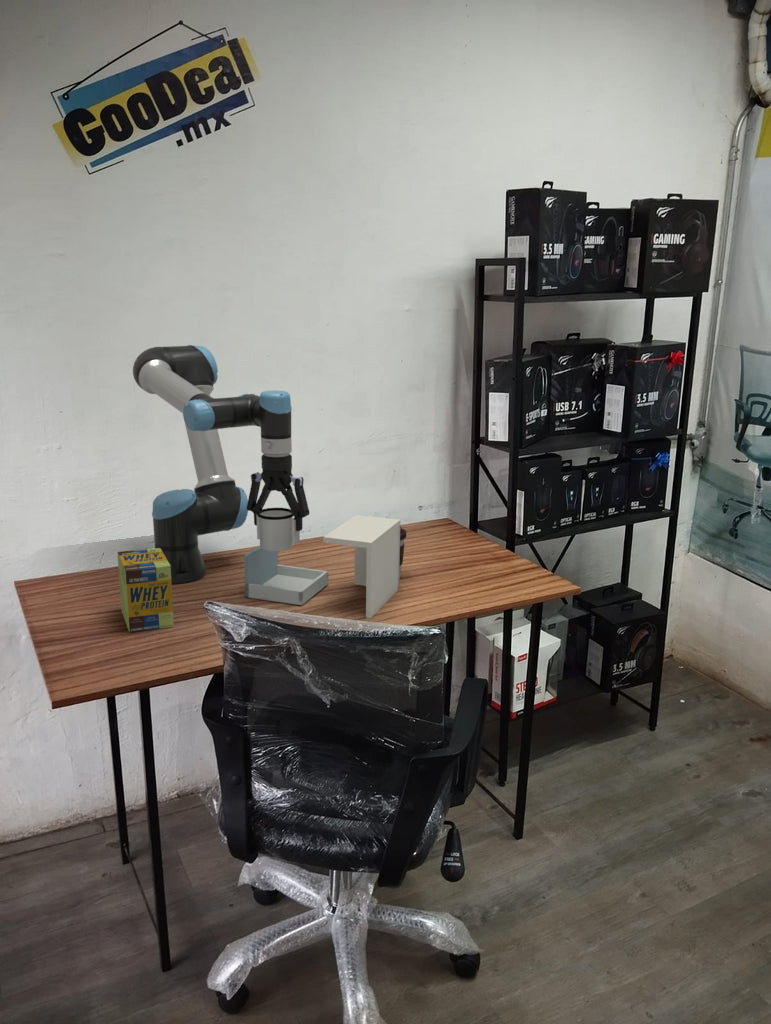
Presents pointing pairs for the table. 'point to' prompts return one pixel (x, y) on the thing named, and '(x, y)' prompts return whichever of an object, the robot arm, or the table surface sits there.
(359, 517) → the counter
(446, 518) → the table surface
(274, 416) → the robot arm
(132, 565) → the protein box
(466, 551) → the table surface
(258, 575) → the tray
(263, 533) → the mug
